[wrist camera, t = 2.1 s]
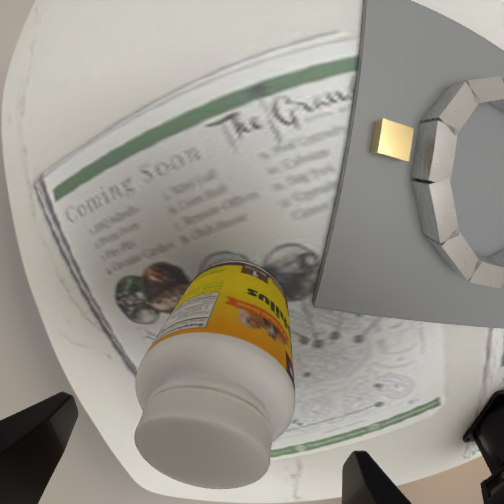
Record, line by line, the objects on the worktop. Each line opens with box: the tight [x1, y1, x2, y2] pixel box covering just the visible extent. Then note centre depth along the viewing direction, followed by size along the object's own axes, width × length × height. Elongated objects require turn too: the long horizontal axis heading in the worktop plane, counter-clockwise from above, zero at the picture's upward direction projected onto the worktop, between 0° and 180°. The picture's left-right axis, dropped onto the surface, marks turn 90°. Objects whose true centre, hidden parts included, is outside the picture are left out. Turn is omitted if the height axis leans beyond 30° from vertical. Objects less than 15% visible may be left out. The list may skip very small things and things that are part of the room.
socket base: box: [312, 0, 504, 328], centre depth 12 cm, size 18×18×3 cm
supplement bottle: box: [135, 261, 295, 489], centre depth 12 cm, size 6×6×10 cm
